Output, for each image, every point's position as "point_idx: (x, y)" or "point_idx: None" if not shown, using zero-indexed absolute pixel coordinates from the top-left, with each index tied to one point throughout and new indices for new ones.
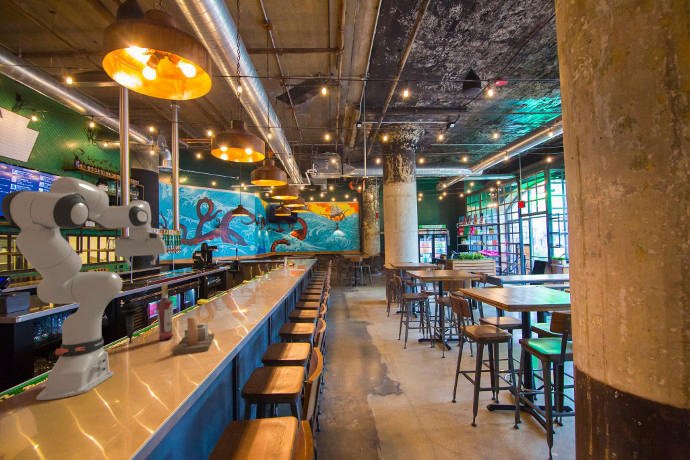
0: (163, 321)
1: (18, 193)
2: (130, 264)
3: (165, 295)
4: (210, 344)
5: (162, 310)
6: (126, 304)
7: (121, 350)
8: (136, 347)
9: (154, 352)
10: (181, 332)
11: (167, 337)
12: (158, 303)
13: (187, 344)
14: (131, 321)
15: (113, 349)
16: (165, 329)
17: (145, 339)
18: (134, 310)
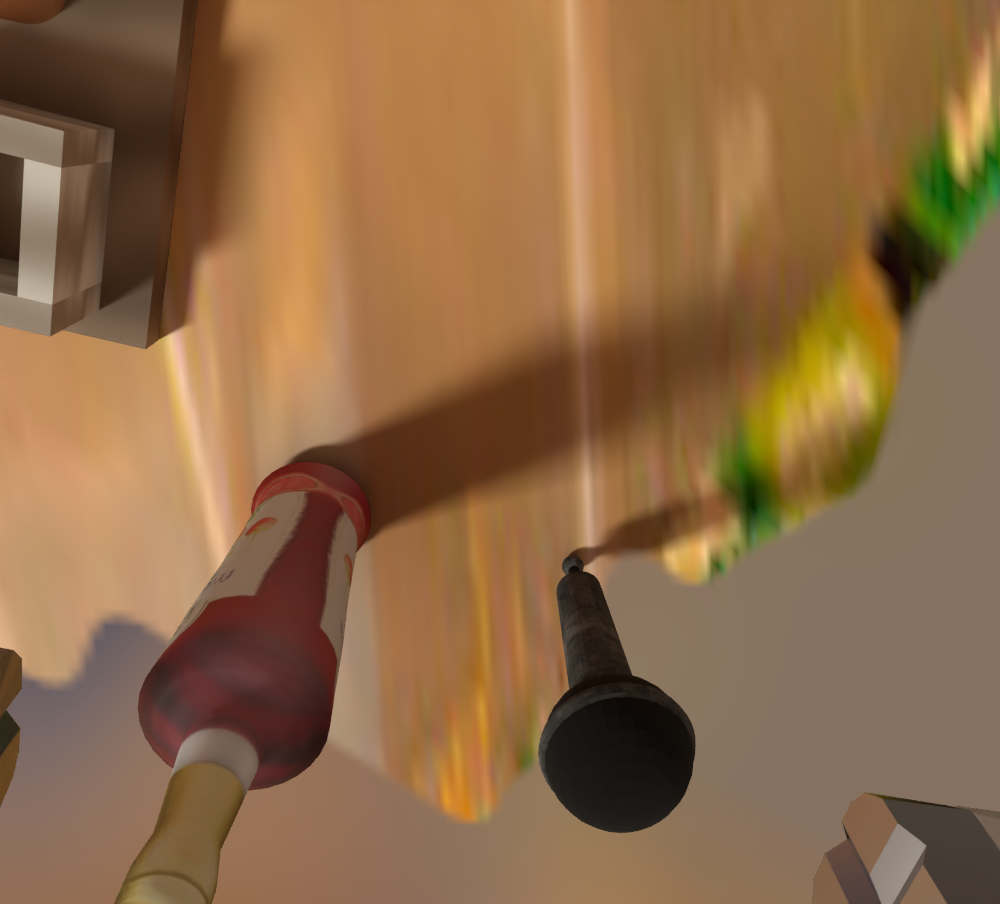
0: (295, 537)
1: None
2: (921, 839)
3: (193, 756)
4: None
5: (276, 594)
6: (659, 789)
7: (626, 396)
8: (524, 407)
9: (377, 127)
10: None
11: (295, 465)
12: (304, 672)
13: (79, 14)
14: (584, 648)
15: (680, 470)
16: (295, 500)
17: (471, 608)
18: (568, 700)
